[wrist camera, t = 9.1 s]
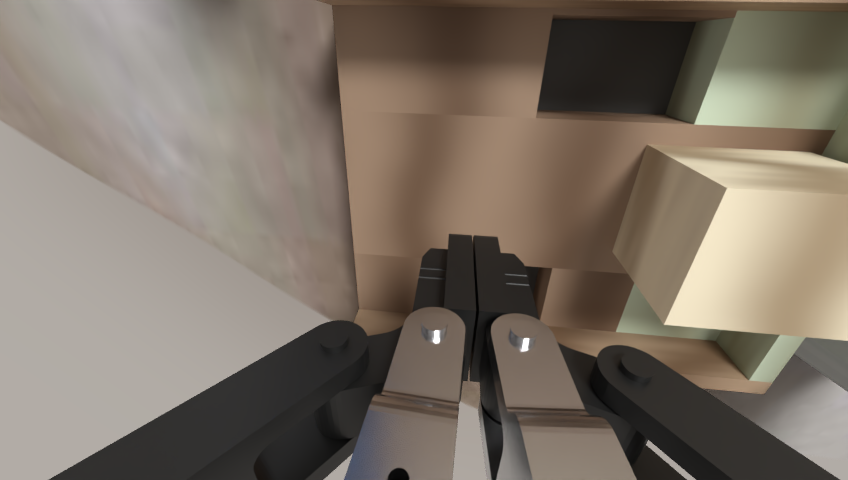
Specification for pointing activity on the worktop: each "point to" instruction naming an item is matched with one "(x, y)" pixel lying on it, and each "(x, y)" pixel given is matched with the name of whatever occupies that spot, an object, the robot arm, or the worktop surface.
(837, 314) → the birch block
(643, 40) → the box
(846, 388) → the coffee maker
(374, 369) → the robot arm
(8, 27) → the worktop surface
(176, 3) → the worktop surface
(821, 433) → the worktop surface
